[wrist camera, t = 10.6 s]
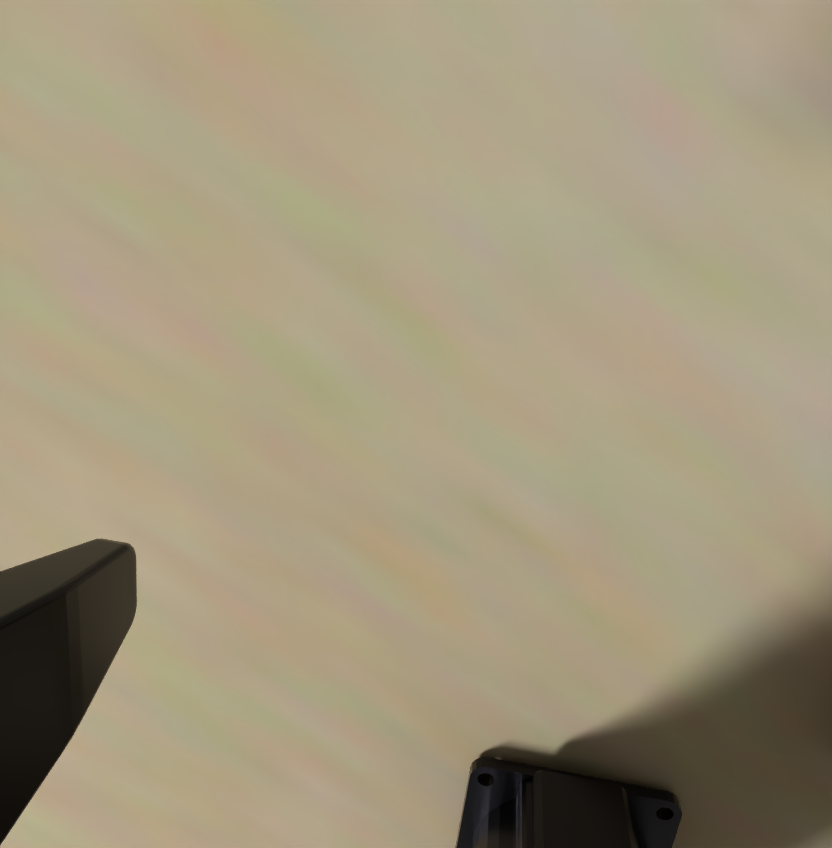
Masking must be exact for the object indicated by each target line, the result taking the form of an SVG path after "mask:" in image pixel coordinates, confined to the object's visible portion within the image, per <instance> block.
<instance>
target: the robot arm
mask: <svg viewBox="0 0 832 848" xmlns="http://www.w3.org/2000/svg"><path fill="white" fill-rule="evenodd" d="M136 606H137V587H136V554H135V550H134V548H133V547H132V546H131V545H130V544H128V543H124V542H118V541H112V540H107V539H95V540H92V541H89V542H86V543H83V544H80V545H77V546H74V547H71V548H68V549H65V550H63V551H60V552H57V553H54V554H51V555H48V556H45V557H42V558H39V559H36V560H33V561H30V562H27V563H24V564H21V565H18V566H15V567H12V568H9V569H6V570H3V571H0V845H1V844H2V842H3V841H4V839H5V838H6V836H7V835H8V833H9V832H10V830H11V829H12V827H13V826H14V824H15V823H16V821H17V820H18V818H19V817H20V815H21V814H22V812H23V811H24V809H25V808H26V806H27V805H28V803H29V802H30V800H31V799H32V797H33V796H34V794H35V793H36V791H37V790H38V788H39V787H40V785H41V784H42V782H43V781H44V779H45V778H46V776H47V775H48V773H49V772H50V770H51V769H52V767H53V766H54V764H55V763H56V761H57V760H58V758H59V757H60V755H61V754H62V752H63V751H64V749H65V747H66V746H67V744H68V743H69V741H70V740H71V738H72V736H73V735H74V733H75V731H76V729H77V728H78V726H79V724H80V722H81V720H82V719H83V717H84V715H85V713H86V711H87V709H88V707H89V705H90V703H91V702H92V700H93V698H94V696H95V694H96V692H97V690H98V688H99V686H100V684H101V682H102V680H103V679H104V677H105V675H106V673H107V671H108V669H109V667H110V665H111V663H112V661H113V659H114V657H115V656H116V654H117V652H118V650H119V648H120V646H121V644H122V642H123V640H124V638H125V636H126V634H127V632H128V631H129V629H130V627H131V625H132V622H133V619H134V616H135V612H136ZM482 773H488V774H490V776H484V775H481V774H482ZM662 807H667V808H668V809H665V810H661V809H660V808H662ZM681 817H682V811H681V806H680V802H679V800H678V798H677V796H675V795H674V794H673V793H671V792H668V791H664V790H658V789H653V788H648V787H642V786H637V785H632V784H627V783H621V782H616V781H611V780H605V779H600V778H595V777H589V776H584V775H579V774H573V773H568V772H563V771H558V770H552V769H547V768H542V767H536V766H531V765H526V764H520V763H515V762H510V761H504V760H499V759H494V758H488V757H482V758H478V759H476V760H475V761H474V762H473V763H472V765H471V767H470V772H469V778H468V783H467V788H466V794H465V799H464V805H463V810H462V815H461V821H460V826H459V832H458V837H457V842H456V848H672V845H673V842H674V839H675V836H676V833H677V830H678V826H679V823H680V820H681Z"/></svg>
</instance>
